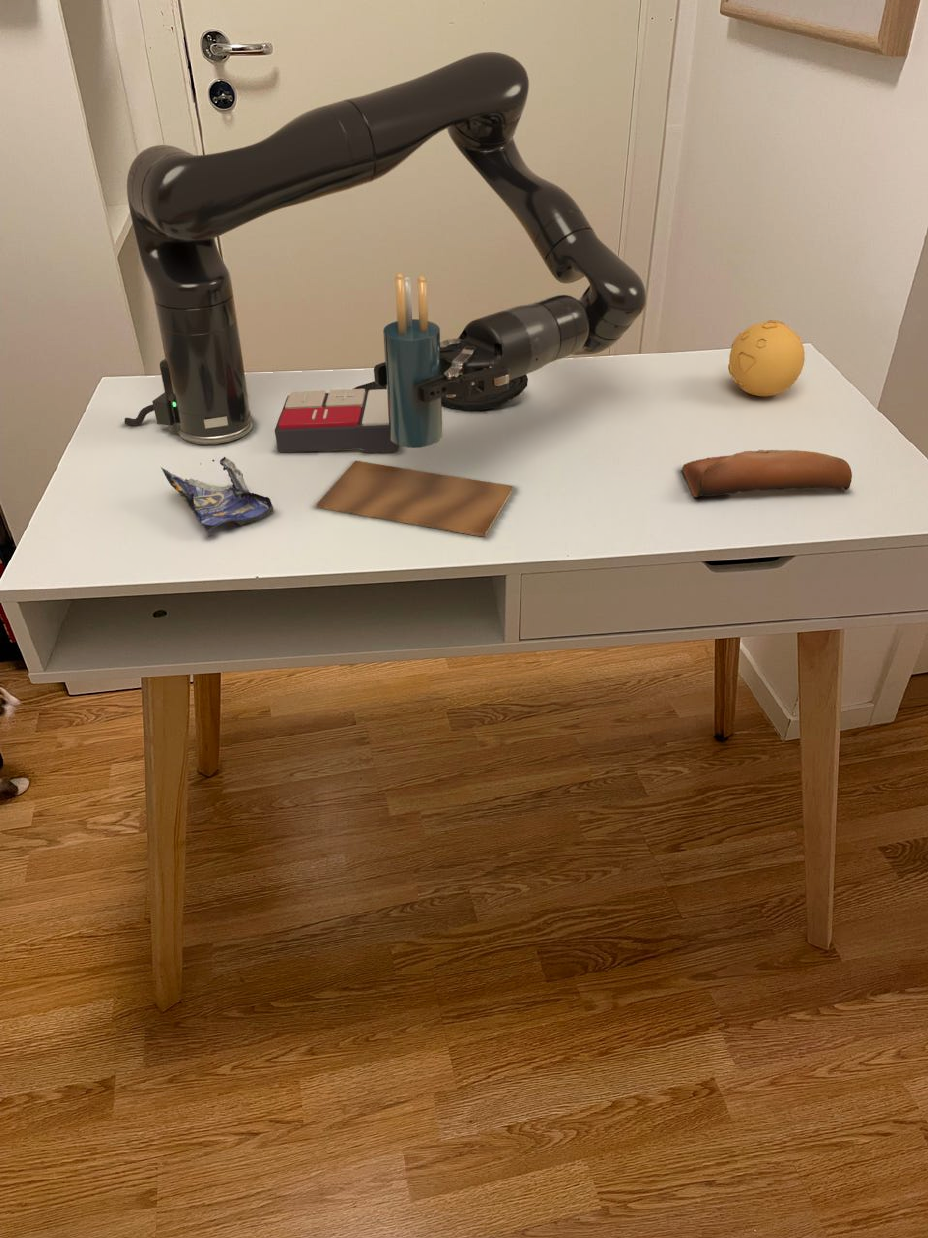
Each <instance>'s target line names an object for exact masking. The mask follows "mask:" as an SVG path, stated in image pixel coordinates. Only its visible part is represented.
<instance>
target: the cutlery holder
mask: <svg viewBox="0 0 928 1238" xmlns="http://www.w3.org/2000/svg"><path fill="white" fill-rule="evenodd" d="M394 280H395V300H396V321H392V322H390V323H388V324H387V325H385V326H384V327H383V330H382V333H383V351H384V362H385V368H386V385H387V402H388V419H389V435H390V439H391V441H392V442H393V443H395V444H397V445H399V447H403V448H410V449H418V448H419V449H420V448H426V447H430V446H433V445H435V444H437V443H438V442H440V441H441V439H442V438H443V409H442V408H443V404H441V398H438V399H436V400H433V401H430V402H427V403H425V404H422V405H418V404H416V403H414V402H413V389H412V388H413V385H414V384H415V383H417V382H420V381H423V380H425V379H428V378H431V377H434V376H436V375H439V374H440V375H441V361H440V343H441V328H440V326H439V325H438V324H437V323H436V322H434V321H429V316H428V315H429V314H428V311H429V310H428V281H427V277H425V276H423V275H420V276H418V278H417V303H418V304H417V305H418V319H416V318H413V308H412V307H413V306H412V305H413V304H412V285H411V284H412V282H411V278H410V277H409V276H405V275H404V274H403V273H401V272H398V273H396V274H395V277H394Z"/></svg>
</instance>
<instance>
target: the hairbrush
mask: <svg viewBox="0 0 928 1238" xmlns="http://www.w3.org/2000/svg"><path fill="white" fill-rule="evenodd" d="M528 382H529V378H528V374H525V375H523V376H520V377H518V378H515V379H512V380H510V381H509V389H508V390H505V391H502V392H498V393H495V394H491V395H488V396H484V397H481V398H477V399H474V400H470V401H462V400H460V396H459V395H456V396H455V397H452V398H448V397H445V396H444V397H441V404H442V406H444V407H447V408H451V409H455V410H460V411H464V412H465V411H468V412H469V411H474V412H475V411H484V410H488V409H493V408H497V407H500V406H502V405H505V404H506V403H508V402H509V401H511V400H513V399H515V398H517V397H519V396H520V395H521V394H522V393H523V392H524V390H525V389H526V388H527V387H528ZM477 387H478V383H477V382H476V383H475V384H474V385H472V390H475V389H477ZM352 389H365V391H369V390H378V389H387V385H384V386H380V385H378V384H376V383H375V380H374V381H371V382H368V383H364V384H361V385H358V386H355V387H353V388H352Z"/></svg>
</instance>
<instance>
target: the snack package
mask: <svg viewBox="0 0 928 1238" xmlns="http://www.w3.org/2000/svg"><path fill="white" fill-rule="evenodd" d="M212 462H215V459H212ZM219 464H220V465H221V466H222V470H223V471H227V473H228V477H229V478H230V482H231V483H232V484H228V485H225V486H218V485H210V484H207V483H204V482H203V481H200V480H198V479H194V478H190V479H187V478H185V479H184V478H182V477H181V476H177V475H175V474H173V473H171V472H170V471H168V470H167V469H165V468H163V467H162V466H160V468H161V471H162V472H163V474H164V476H165V478H166V480H167V481H168V483H169V484H170V486H171V487H172V488H173V489H174V490H175V491H177V492H178V494H179V495H180V497H182V498H183V499H184V500H185V501H186V503H187V505H188V507H189V509H190V510H191V511H192V512H193V514H194V516H195V517H196V518H197V520H198V521H199V523H200V524H201V526H202V527H203V528H204V529H205V530H206V531H207V532H209V531H211V530H213V529H214V528H216V527H219V526H221V525H222V524H225V523H229V522H234V523H238V525H239V526H240V527H243V526H244V525H247V524H249V523H255V522H256V521H259V520H260V519H262V518H263V517H264V516H267V515H268V514H271V513H273V512H274V505H273V504H272V501H271V498H269V497H268V496H264V495H260V494H258V493H255V492H251V491H250V490H249V489H248V486H247V484H246V482H245V479H244V474H243V473H242V472H241V470H240V469H238V468H237V465H236V464H235V462H233V461H232V460H231V459H229V458H227V457H226V456H224V457H222V458H221V459H220V460H219ZM200 465H202V463H200ZM239 526H237V528H239ZM207 537H209V538H210V537H211V534H209V535H207Z"/></svg>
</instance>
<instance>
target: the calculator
mask: <svg viewBox="0 0 928 1238" xmlns="http://www.w3.org/2000/svg"><path fill="white" fill-rule="evenodd" d="M282 406H283V407H282V409H281V412H280V415H279V417H278V420H277V422H276V425H275V428H274V436H275V442H276V447H277V452H279V453H297V452H320V451H321V452H323V451H324V452H325V451H347V450H361V451H364V452H365V453H368V454H377V453H379V454H380V453H396V452H398V451H399V447H400V446H399V445H397V444H395V443H393V442H392V441H391V439H390V435H389V419H388V402H387V389H378V390H369V391H365V389H353V388H349V389H331V390H329V391H328V392H326V390H305V391H304V390H303V391H301V390H299V391H290V392H289V394H288V395H286V399H285V401H284V404H283V405H282Z"/></svg>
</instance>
